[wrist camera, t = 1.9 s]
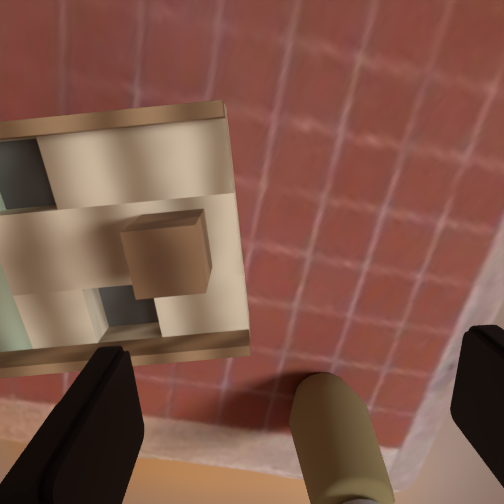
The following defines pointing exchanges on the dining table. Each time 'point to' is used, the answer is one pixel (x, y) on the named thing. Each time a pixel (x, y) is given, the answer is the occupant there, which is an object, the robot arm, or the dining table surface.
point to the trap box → (113, 237)
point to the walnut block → (168, 254)
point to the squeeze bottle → (337, 444)
